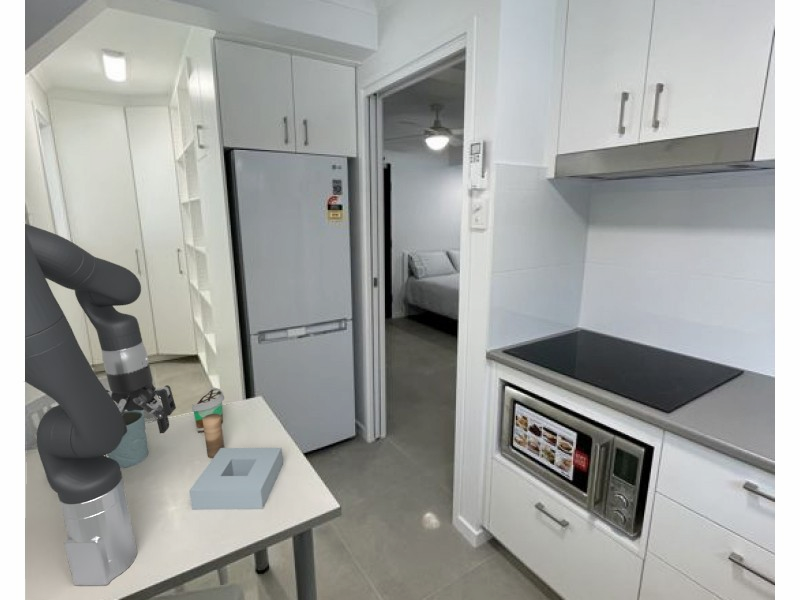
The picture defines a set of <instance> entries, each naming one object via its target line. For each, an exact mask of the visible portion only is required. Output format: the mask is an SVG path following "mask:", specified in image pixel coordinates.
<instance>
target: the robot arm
mask: <svg viewBox="0 0 800 600" xmlns="http://www.w3.org/2000/svg"><path fill="white" fill-rule="evenodd" d="M47 280H49V281H51V282H53V283H55V284H57V285H60V287H63V288H65V289H69V290H71V291H74V295H75V298H76V300H77V302H78V304H79V306H80V307H81V309H82V311H83V312H84V313H85V316H86V317H87V318H88V320H89V322H90V323H91V324H92V326H93V327H94V329H95V331H96V333H97V337H98V341H99V347H100V349H101V355H102V356H101V357H102V362H103V366H104V371H105V375H106V379H107V382H108V386H109V389H110V390H108V389H106V387H105V386H104V385H103V383H102V382H101V381H100V379H99V377H98V376H97V374H96V372H95V371H94V369H93V368H92V366H91V364H90V363H89V360H88V359H87V356H86V355H85V354H84V351H83V350H82V348H81V346H80V344H79V342H78V339H77V337H76V335H75V334H74V331H73V329H72V326H71V325H70V322H69V321H68V318H67V316H66V315H65V313H64V310H63V309H62V307H61V305H60V304H59V303H58V301H57V299H56V297H55V294H54V293H53V291H52V289H51V287H50V284H49V283H48V281H47ZM141 293H142V284H141V282H140V280H139V278H138V277H137V275H136V274H134V272H132V271H131V270H130V269H128V268H127V267H124V266H122V265H119V264H117V263H114V262H112V261H110V260H109V261H108V260H106V259H103V258H99V257H96V256H94V255H92V254H91V253H90V252H88V251H87V250H85V249H83V248H82V247H80V246H79V245H77V244H76V243H74V242H73V241H72V240H71V241H70V240H69V239H67V238H66V237H63V236H60V235H59V234H57V233H53V232H51V231H47V230H45V229H43V228H40V227H36V226H33V225H31V224H28V223H25V381H24V383H26V384H29V385H30V386H32V387H33V388H35V389H37V390H39V391H40V392H42V393H44V394H45V395H47V396H48V397H49V398H51V399H52V400H53V401H55V402H56V403H57V404H58V405H55V406H54V407H51V408H50V409H49V410H47V411H46V412H45V413H44V414H43V415H42V417H41V419H40V421H39V423H38V425H37V430H36V447H37V452H38V455H39V458H40V461H41V464H42V468H43V470H44V473H45V476H46V479H47V482H48V484H49V487H50V488H51V490H53V491H54V492H55V493H56V494H57V496H58V500H59V503H60V504H59V505H60V508H61V513H62V517H63V521H64V526H65V530H66V533H67V538H66V539H65V540H64V541H63V545H64V549H65V552H66V553H65V554H66V556H67V560H68V565H69V569H70V573H71V577H72V581H73V585H74V586H108V584H110V583H111V581H112V580H114V579H115V578H117V577H118V576H120V575H121V574H122V573H125V571H126V570H127V569H129V567H130V566H131V565H132V564H133V562H134V561H135V560H136V557H137V554H138V552H137V551H138V550H137V545H136V541H135V535H134V531H133V526H132V519H131V516H130V509H129V505H128V499H127V495H126V490H125V484H124V480H123V479H124V478H123V475H122V474H123V473H122V468H120V465H119V464H118V462H117V461H115V460H114V459H111V458H109V457H108V454H109V453H111V452H112V451H114V450H115V449H116V448H117V447H118V445H119V444H120V442H121V440H122V437H123V436H124V435H125V434H126V433H127V427H126V423H125V419H124V417H122V415H123V414H124V412H125V411H133V410H139V411H144V410H145V411H146V412H147V413H149V414H152V415H153V416H154V417H156V418H157V419H156V423H157V427H158V431H159V434H165V433H166V432H167V431H168V429H169V428H170V420H169V416H171V415H172V413H173V412H174V411H175V410H176V408H177V406H176V403H175V400H174V397H173V396H174V395H173V392H172V388H171V387H170V385H165V386H164V387H160V388H156V387H155V386H154V384H153V381H154V380H153V375H152V370H151V366H150V362H149V357H148V353H147V350H146V347H145V344H144V341H143V338H142V333H141V328H140V323H139V321H138V319H137V317H136V316H135V315H132V314H128V313H122V312H119V311H118V310H117V309H116V308H115V307H119V306H128V305H131V304H133V303H134V302H136V301H137V300H138V299H139V298H140V296H141ZM114 306H115V307H114ZM156 396H157V397H156ZM151 404H152V405H151ZM106 455H107V456H106Z"/></svg>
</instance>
